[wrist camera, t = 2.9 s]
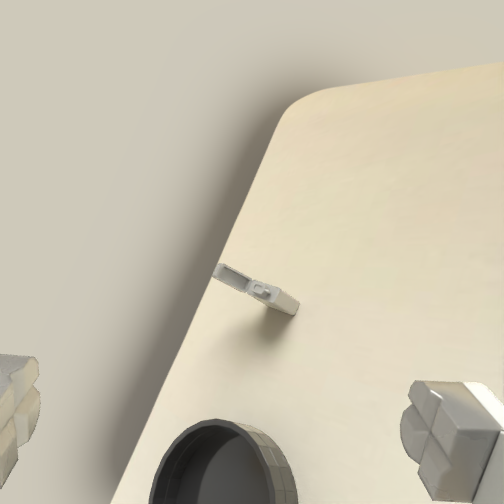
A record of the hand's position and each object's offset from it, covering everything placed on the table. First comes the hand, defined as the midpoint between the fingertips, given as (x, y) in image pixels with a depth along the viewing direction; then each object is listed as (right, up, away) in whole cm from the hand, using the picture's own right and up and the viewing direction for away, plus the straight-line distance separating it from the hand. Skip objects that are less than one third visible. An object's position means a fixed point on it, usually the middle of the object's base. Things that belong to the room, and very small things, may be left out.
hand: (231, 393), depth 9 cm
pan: (-2, -22, +32) cm, 39 cm away
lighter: (+3, -3, +41) cm, 41 cm away
